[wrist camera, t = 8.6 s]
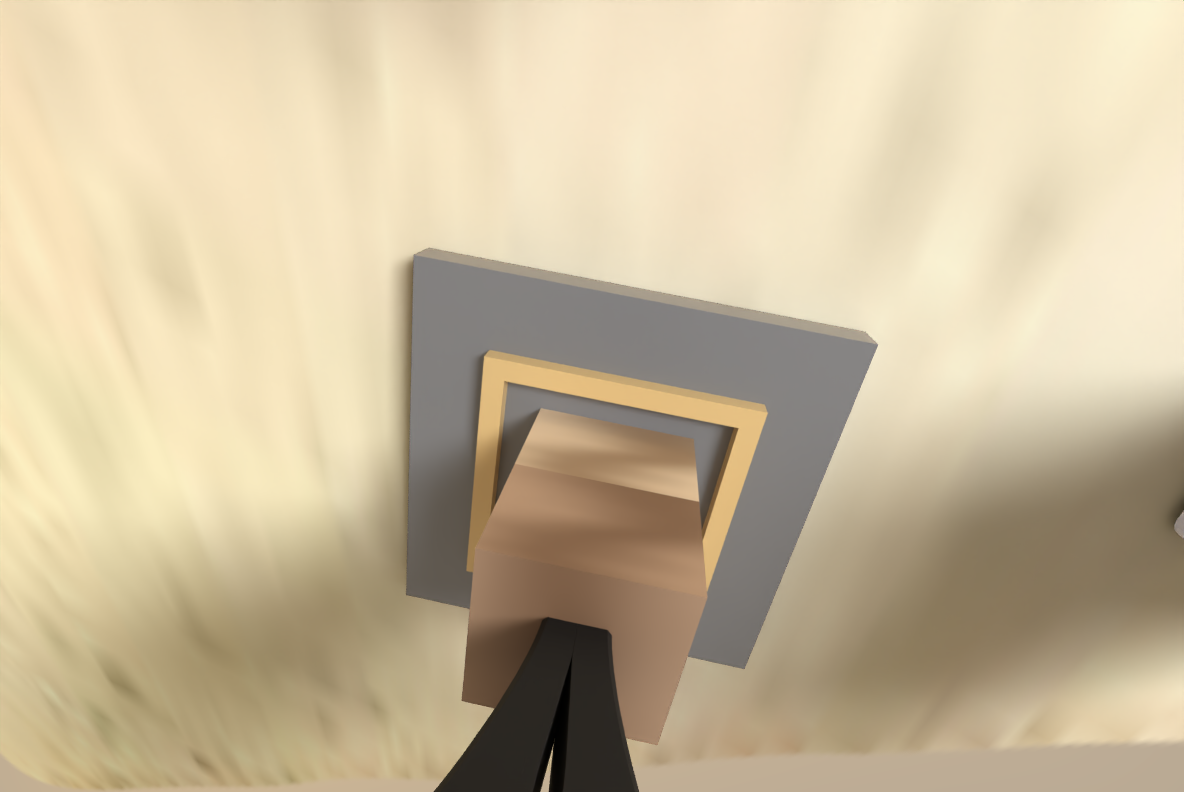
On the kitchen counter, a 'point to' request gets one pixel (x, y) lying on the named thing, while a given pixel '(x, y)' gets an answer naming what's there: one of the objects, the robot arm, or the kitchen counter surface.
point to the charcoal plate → (621, 415)
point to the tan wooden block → (592, 560)
